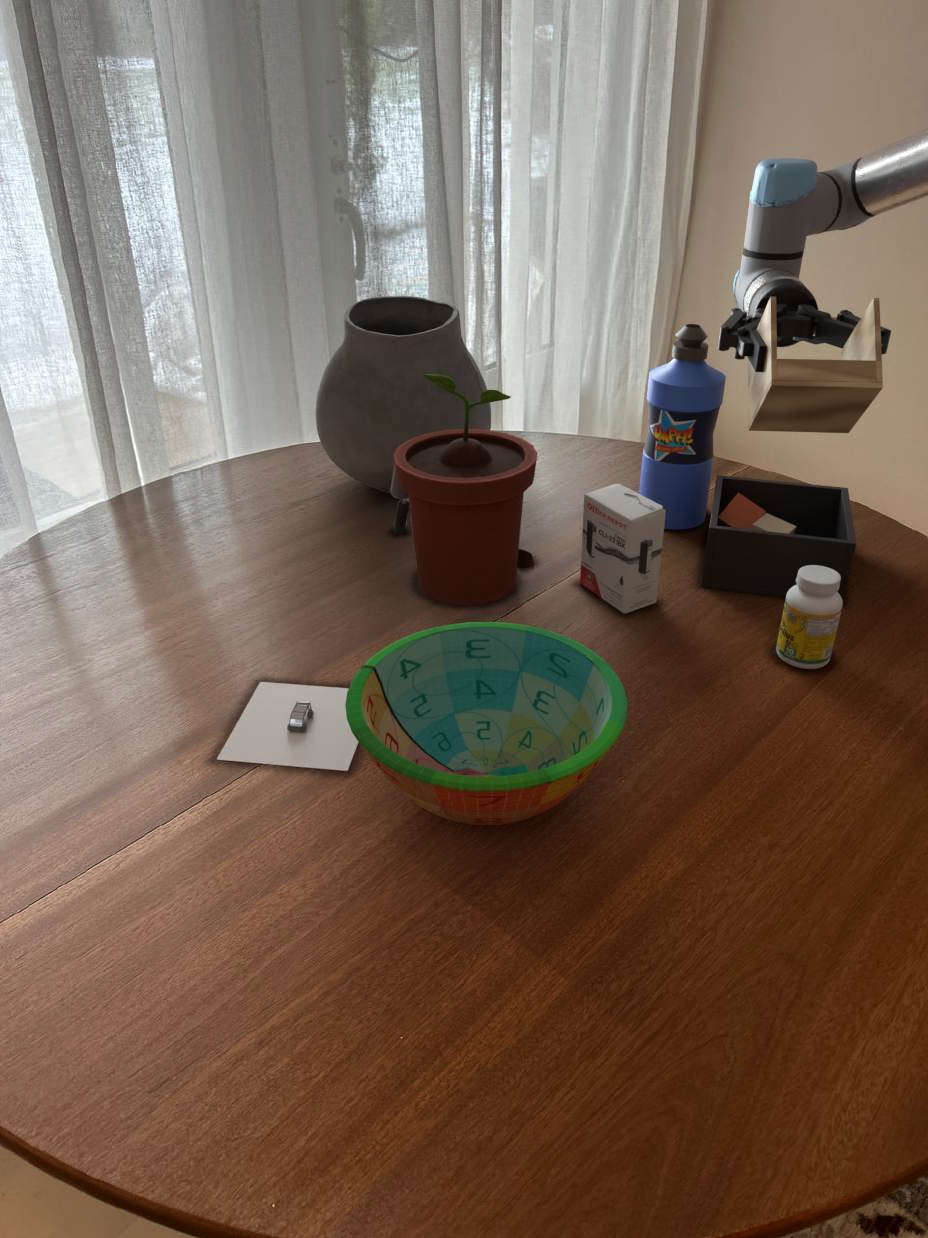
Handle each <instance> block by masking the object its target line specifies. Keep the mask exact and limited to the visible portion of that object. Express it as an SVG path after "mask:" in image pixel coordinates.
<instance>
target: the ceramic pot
mask: <svg viewBox="0 0 928 1238" xmlns="http://www.w3.org/2000/svg"><path fill="white" fill-rule="evenodd" d="M460 317H461V316H460V311H459V309H458V307H457V306H456V305H455V304H454V303H451V302H447V301H442V300H441V301H439V300H436V299H435V300H433V299H427V298H425V297H420V296H413V295H385V296H383V295H382V296H381V295H380V296H371V297H366V298H364V299H360V300H358V301H356V302H354V303H352V304H351V305H350V306H348V308H347V309H346V310H345V311H344V314H343V331H344V333H343V334H344V335H343V339H342V340H341V342H340V344H339V346H338V347H337V348H336V349H335V351H334V352H333V354H332V355H331V357H330V359H329V361H328V362H327V364H326V367H325V369H324V371H323V373H322V376H321V379H320V382H319V385H318V389H317V394H316V401H315V424H316V431H317V435H318V439H319V441H320V444H321V446H322V448H323V450H324V451H325V453H326V455H327V456H328V458H329V459H330V460H331V461H332V463H334V465H336V467H337V468H339V469H340V470H341V471H343V472H344V473H345V474H346V475H348V476H349V477H351V478H353V479H354V480H356V481H357V482H359V483H361V484H362V485H365V486H368V487H370V488H371V489H375V490H378V491H380V492H383V493H386V494H391V492H390V489H391V483H392V477H393V471H394V465H395V462H394V453H395V451H396V450H397V448H398V447H399V446H400V445H402V444H403V443H405V442H406V441H408V440H409V439H412V438H415V437H418V436H421V435H423V434H427V433H432V432H438V431H443V430H456V429H464V425H465V411H466V408H465V402H464V401H463V399H462V398H460V397H459V396H457V395H455V394H453V393H450V392H448V391H446V390H445V389H443V388H441V387H439V386H438V385H436V384H434V383H433V382H431V381H429V380H428V379H426V378H425V377H424V376H423V374H436V375H445V376H448V377H450V378H452V379H453V381H454V382H455V384H456V389H455V391H457V392H459V393H461V394H463V395H464V396H465V397H466V398H467V400H468V402H469V404H471V403H473V402H477V401H480V396H481V394H482V393H483V392H484V391H486V390H488V388H487V387H488V386H487V384H486V382H485V379H484V377H483V375H482V372H481V370H480V368H479V365H478V363H477V362H476V360H475V358H474V356H473V355H472V353H471V352H470V351H469V349H468V347H467V346H466V344H465V341H464V339H463V337H462V328H461V326H462V325H461V318H460ZM468 429H480V430H491V429H492V405H491V402H490V403H484V404H478V405H475V406H473V407H472V408H471V409H470V410H469V425H468ZM491 431H492V430H491ZM391 495H392V494H391Z"/></svg>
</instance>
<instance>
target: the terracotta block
mask: <svg viewBox="0 0 928 1238" xmlns="http://www.w3.org/2000/svg"><path fill="white" fill-rule="evenodd" d="M764 514H765V510H763V509H762V508H760V507H759V506H757V505H756V504H754V503H753V502H751V501H750V500H749V499H747V498H746V497H744V496H743V495H741V494H740V493H738V494H737V495H736V496H735V497H734V498H733V500H732V501H731V502H730V503H729V504H728V506H727V507H726V508H725V509H724V510H723V512H722V513H721V514H720V515H719V517H718V521H717V526H724V527H733V528H743V529H751V528H752V525H753V524H754V523H755V522H756V521H757V520H758V519H760V518H761V517H762V516H763V515H764Z"/></svg>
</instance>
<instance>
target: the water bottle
mask: <svg viewBox="0 0 928 1238" xmlns="http://www.w3.org/2000/svg"><path fill="white" fill-rule="evenodd" d="M675 337H676V338H677V340H676V341H674V342H673V343H672V350H671V351H672V352H671V357H672V359H671V361H669V362H668V363H665V364H662V365H660V366H657V367H654V368H653V369H651V370H650V371H649V373H648V382H647V393H646V400H647V417H648V420H647V421H648V425H647V426H648V431H647V434H646V439H645V442H644V447H643V450H642V460H641V469H640V481H639V489H638V494H640V495H642V496H644V497H646V498H647V499H650V500H652V501H654V502H655V503H657V504H659V505H662V506H663V509H664V510H665V511H666V514H665V524H664V530H688V529H693V528H696V527H698V526H700V525H702V524H703V523H704V522H705V521H706V517H707V510H708V502H709V496H710V487H711V481H712V473H713V465H714V457H715V455H714V454H715V453H714V434H715V429H716V425H717V421H718V419H719V418H718V417H719V413H720V409H721V406H722V404H723V403H724V396H725V395H724V394H725V387H726V379H727V376H726V374H725V373H724V372H722V371H721V370H718V369H716V368H714V367H713V366H711V365H709V364H708V363H707V362H706V360H707V358H708V353H709V352H708V351H709V344H708V343H707V342H704V341H706V340H707V339H708V338H709V335H708V334H707V332H706V331H705V330H704V329H703V328H702V326H701V325H700V324H697V323H688V324H685V325H684V326H683V327H682V328H681V329H680V330H679V331H677V332H676V333H675Z"/></svg>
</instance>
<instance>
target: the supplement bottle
mask: <svg viewBox="0 0 928 1238" xmlns="http://www.w3.org/2000/svg"><path fill="white" fill-rule="evenodd" d="M840 581H841V576H840V574H839V573H838V572H836V571H835V570H833V569H831V568H828V567H824V566H818V565H808V566H804V567H802V568H800V569H799V571H798V574H797V578H796V583H797V585H795V586H793V587H792V588H790V589H789V591H788V592H787V595H786V597H785V600H784V605H783V610H782V614H781V615H782V616H781V621H780V626H779V630H778V637H777V640H776V646H775V651H776V654H777V656H778V657H779V659H780V660H781V661H783V662H784V663H785V664H788V665H790V666H792V667H794V668H798V669H803V670H817V669H821V668H823V667H825V666H826V665H828V663H829V662H830V660H831V659H832V658H831V657H832V652H833V649H834V647H835V646H834V645H835V641H836V636H837V632H838V627H839V623H840V618H841V614H842V612H843V611H842V610H843V604H844V600H843V601H842V598H841V596H840V594H839V593H838V592H837V591H838V590H839V586H840Z"/></svg>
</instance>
